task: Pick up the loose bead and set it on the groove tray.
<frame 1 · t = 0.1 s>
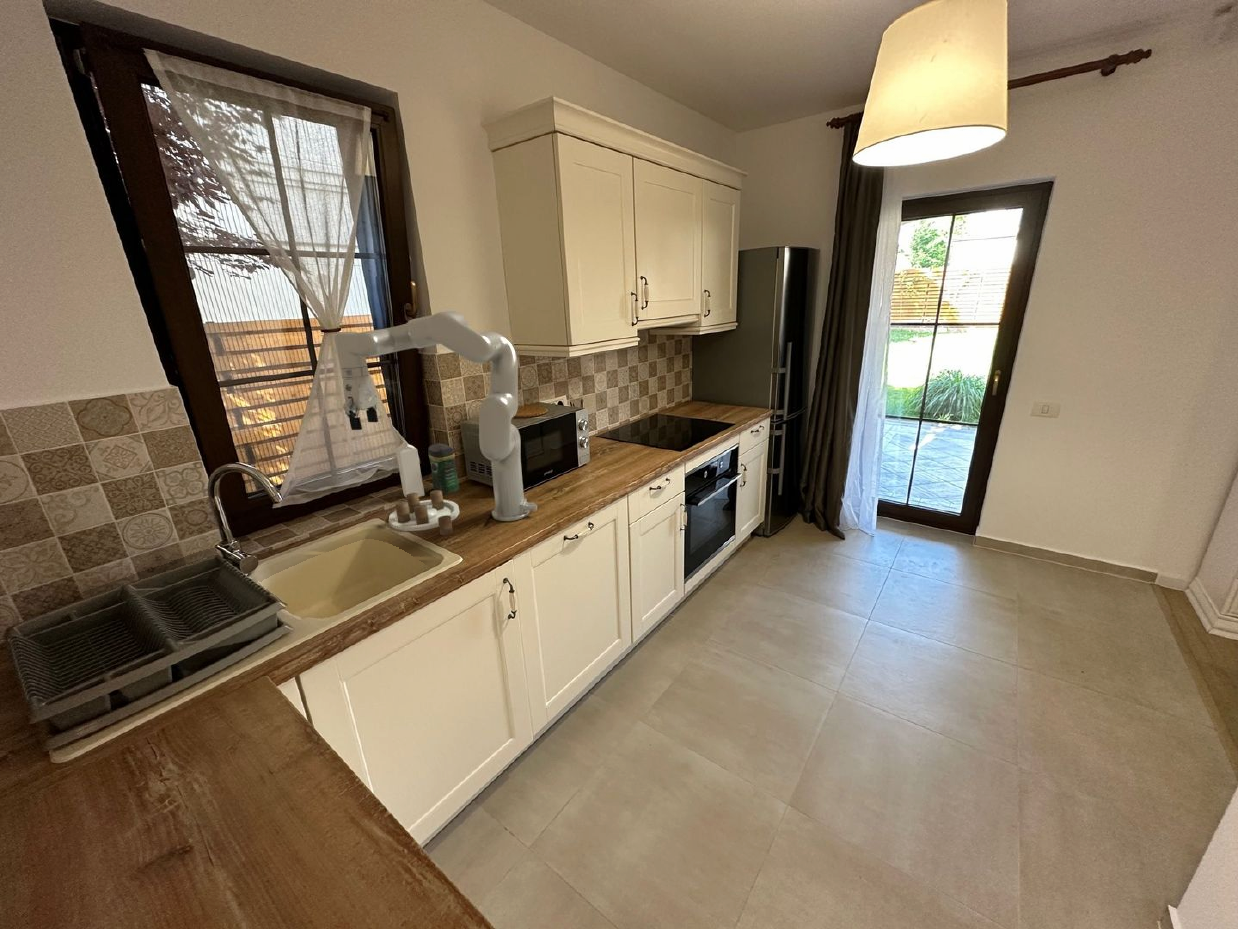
hand: (365, 425, 157), 31 cm above the worktop, fingers open, 9 cm apart
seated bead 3: (438, 508, 168), point 1 cm above the worktop, touching groove tray
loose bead: (447, 535, 150), on the worktop
coffee jar: (447, 491, 185), on the worktop
seated bead 2: (423, 524, 156), point 1 cm above the worktop, touching groove tray
milk: (414, 497, 180), on the worktop
groove tray: (425, 518, 162), on the worktop
brown round peg 1: (404, 520, 159), point 1 cm above the worktop, touching groove tray
seated bead 4: (414, 511, 166), point 1 cm above the worktop, touching groove tray
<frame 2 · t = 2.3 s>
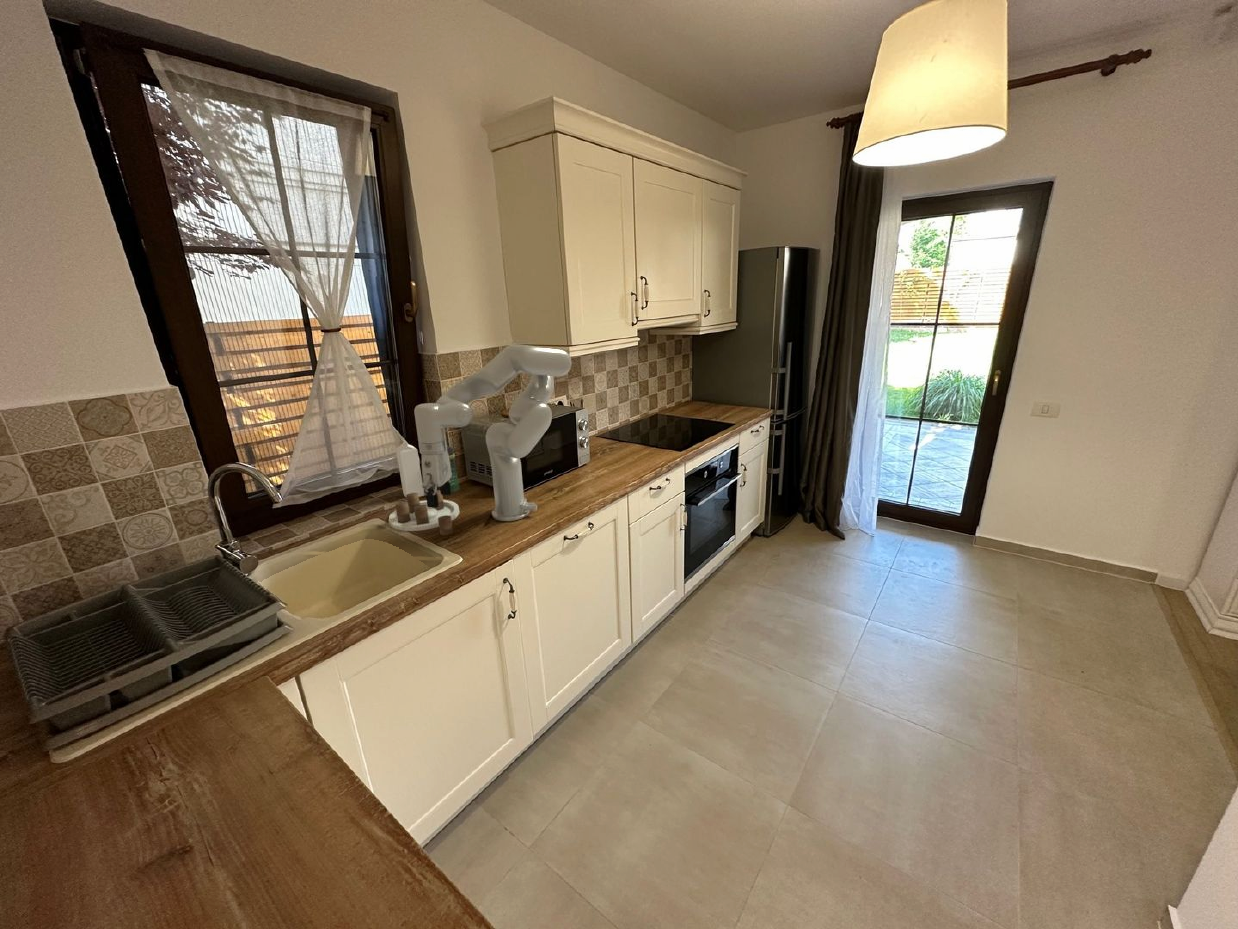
hand: (439, 500, 146), 12 cm above the worktop, fingers open, 9 cm apart
nothing on the worktop moved.
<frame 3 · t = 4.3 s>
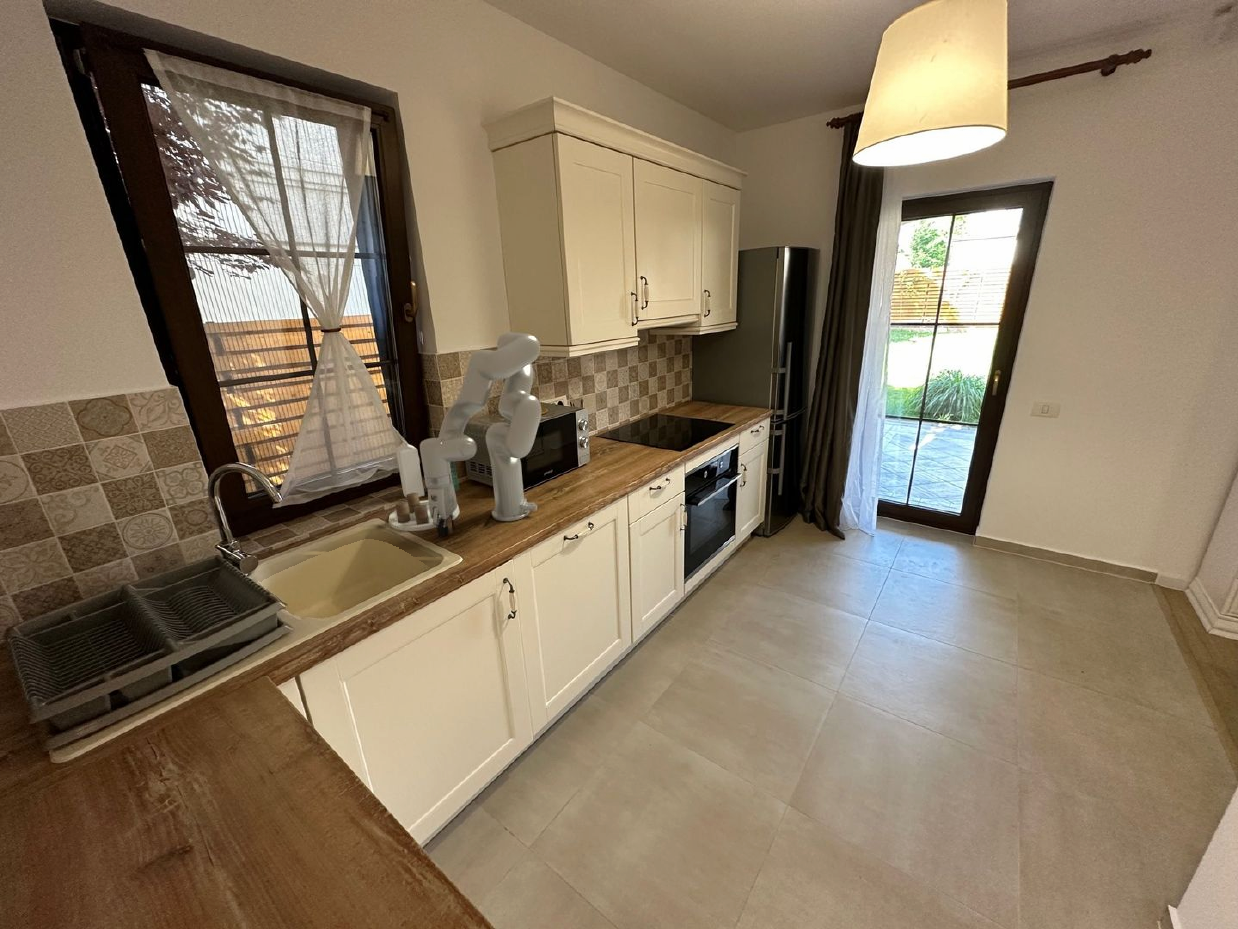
hand: (446, 534, 150), 0 cm above the worktop, fingers closed on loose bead, 3 cm apart
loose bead: (447, 535, 150), on the worktop, touching gripper
everything else where it was.
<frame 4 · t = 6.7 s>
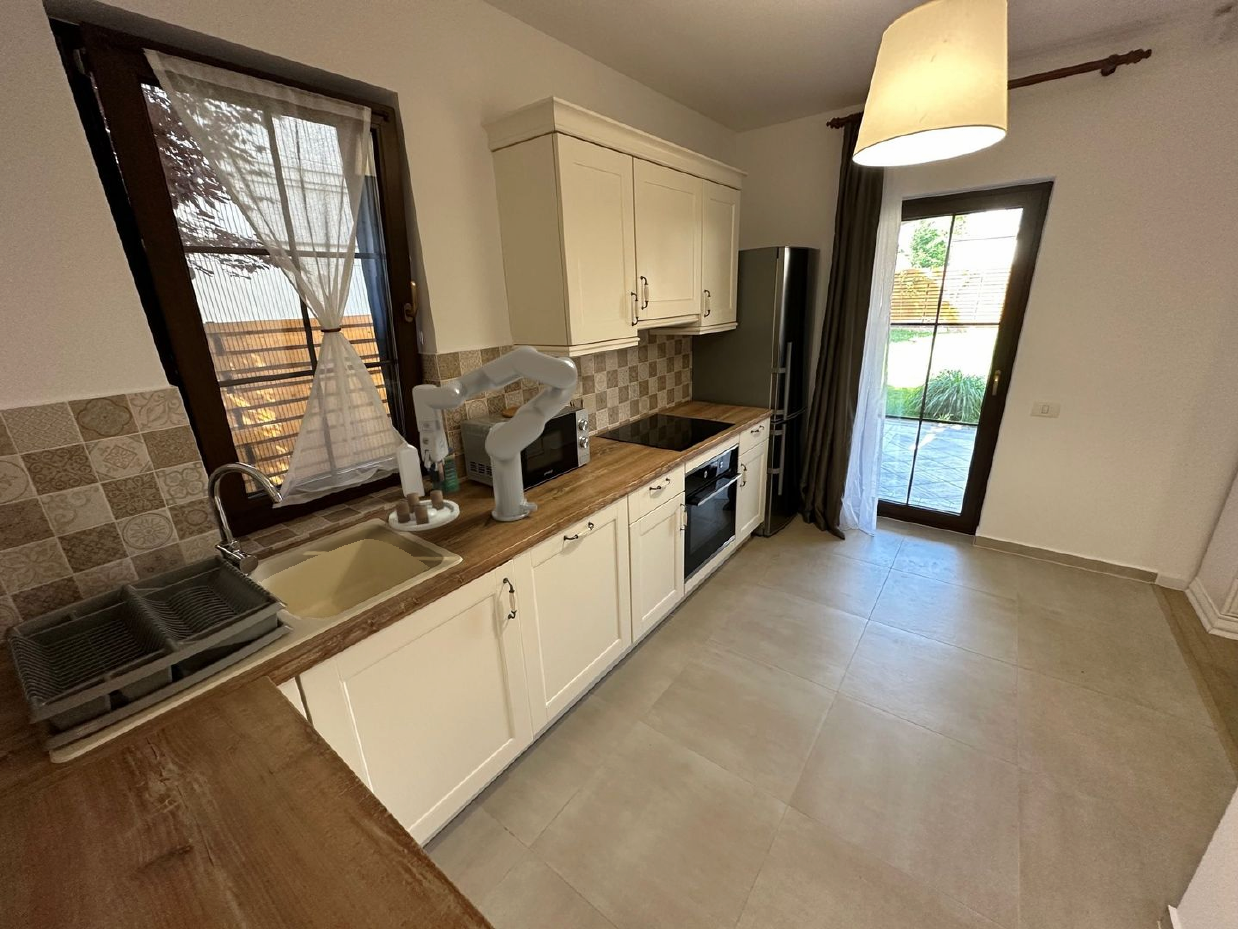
hand: (438, 478, 157), 14 cm above the worktop, fingers closed on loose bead, 3 cm apart
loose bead: (438, 480, 158), point 14 cm above the worktop, touching gripper
everything else where it was.
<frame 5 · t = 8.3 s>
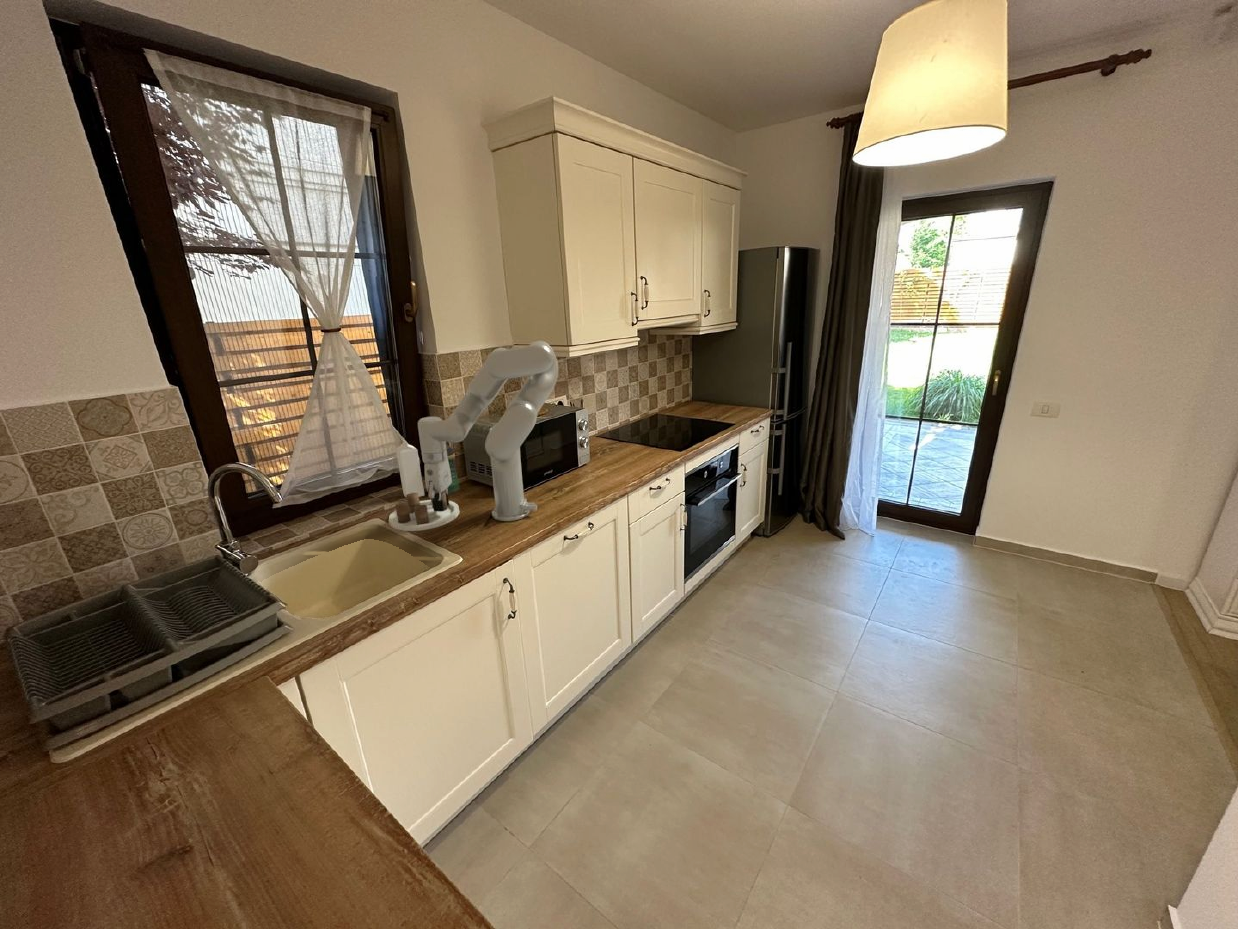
hand: (441, 507, 161), 4 cm above the worktop, fingers closed on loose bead, 3 cm apart
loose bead: (441, 509, 161), point 4 cm above the worktop, touching gripper
everything else where it was.
when the fingers open (2 cm above the worktop, at t = 9.4 s): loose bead stays where it is, resting on groove tray.
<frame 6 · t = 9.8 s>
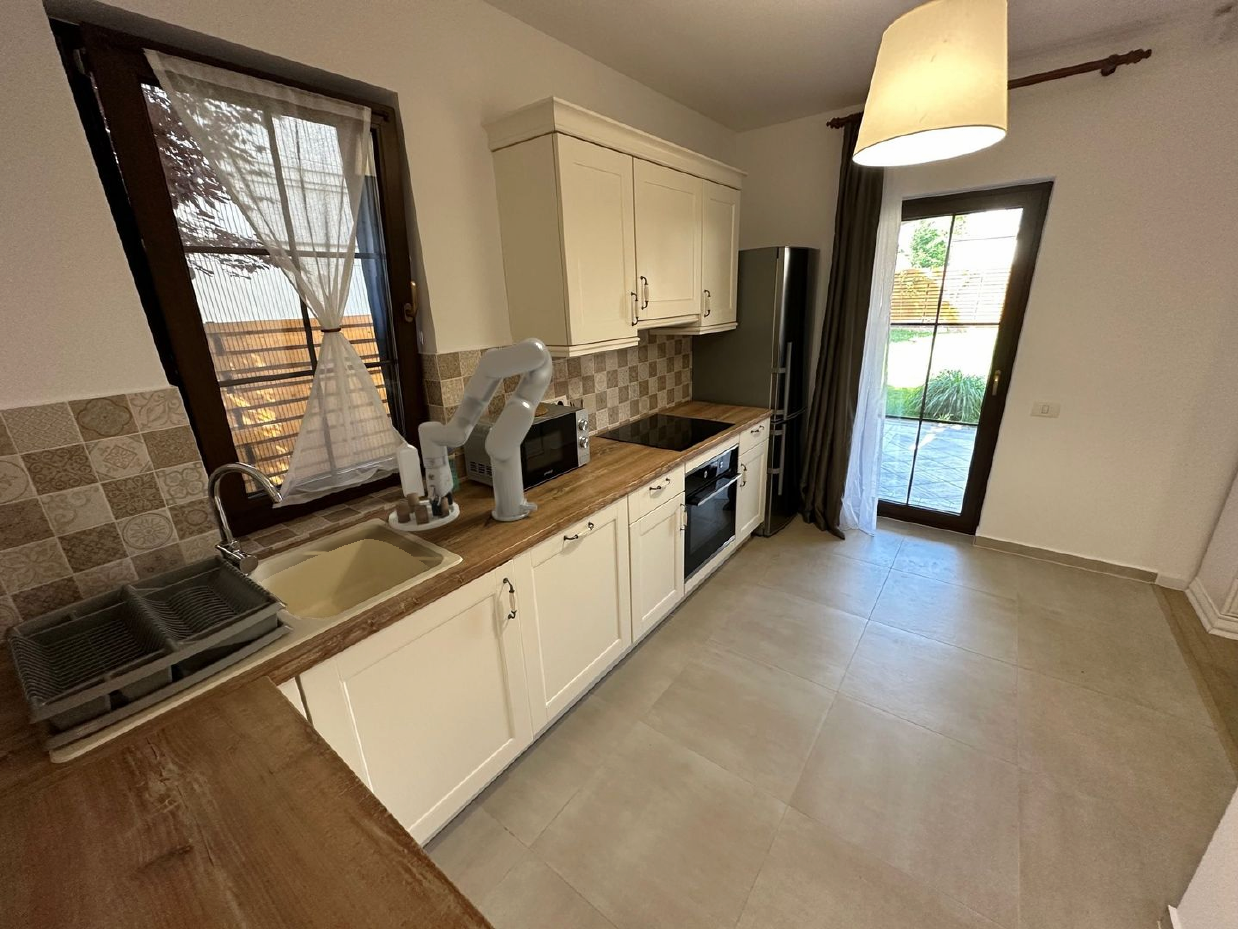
hand: (443, 509, 161), 3 cm above the worktop, fingers open, 8 cm apart
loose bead: (443, 515, 162), point 1 cm above the worktop, touching groove tray
everything else where it was.
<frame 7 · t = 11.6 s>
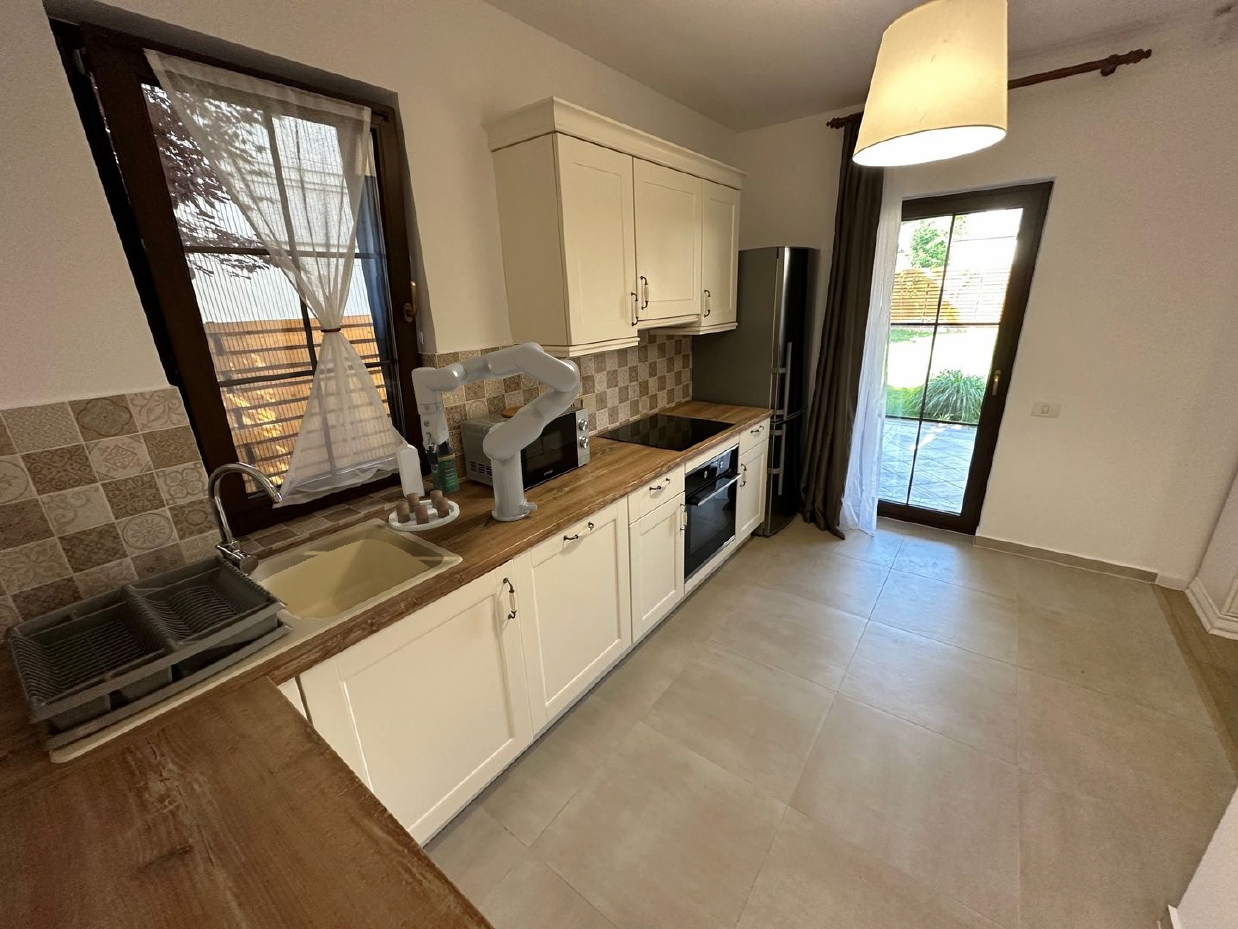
hand: (439, 459, 157), 20 cm above the worktop, fingers open, 9 cm apart
nothing on the worktop moved.
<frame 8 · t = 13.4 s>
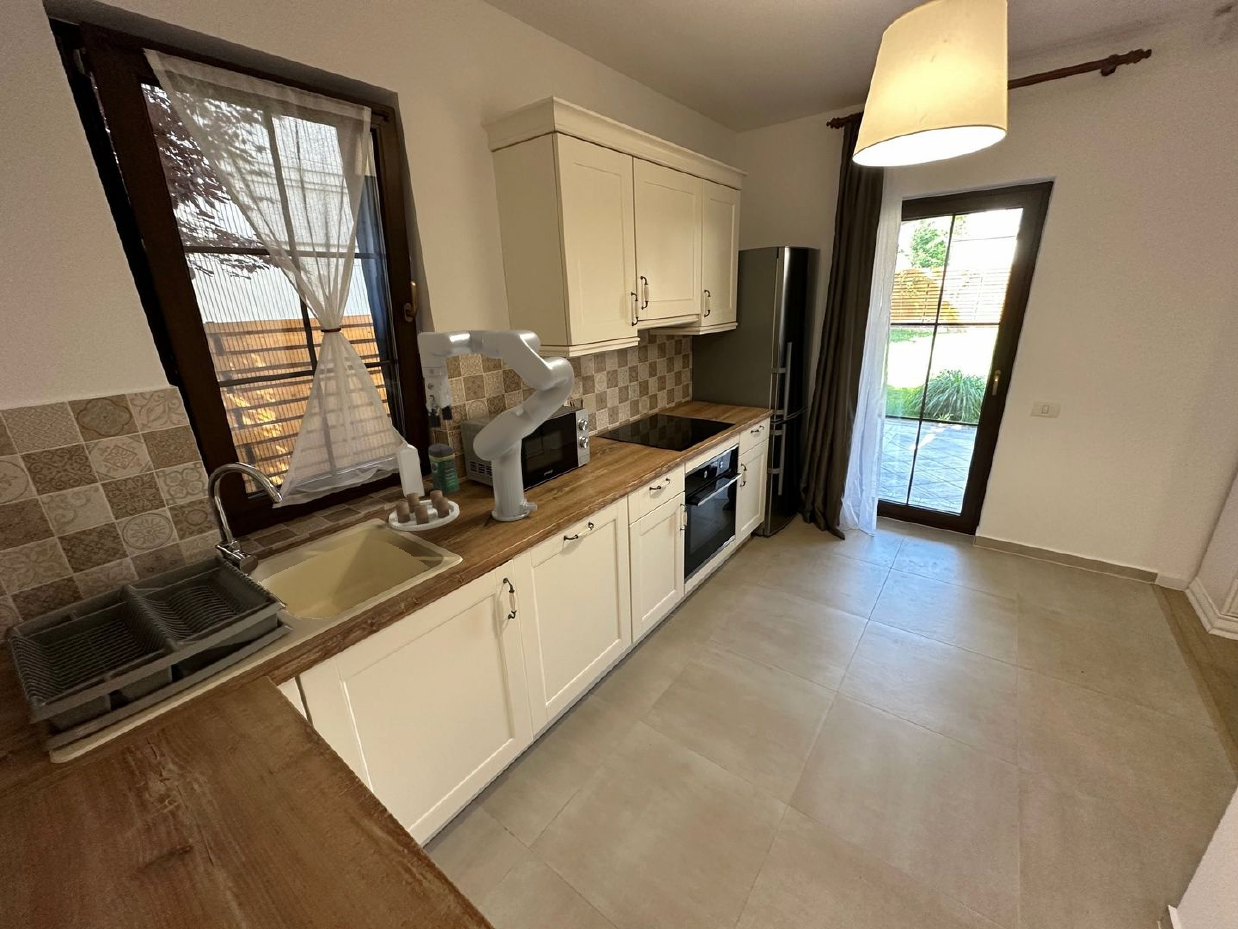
hand: (442, 423, 162), 30 cm above the worktop, fingers open, 9 cm apart
nothing on the worktop moved.
at the end: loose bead 0.1 cm from the target spot on the groove tray, point 1.0 cm above the groove tray's base; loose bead tilted 0°; the gripper is holding nothing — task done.
